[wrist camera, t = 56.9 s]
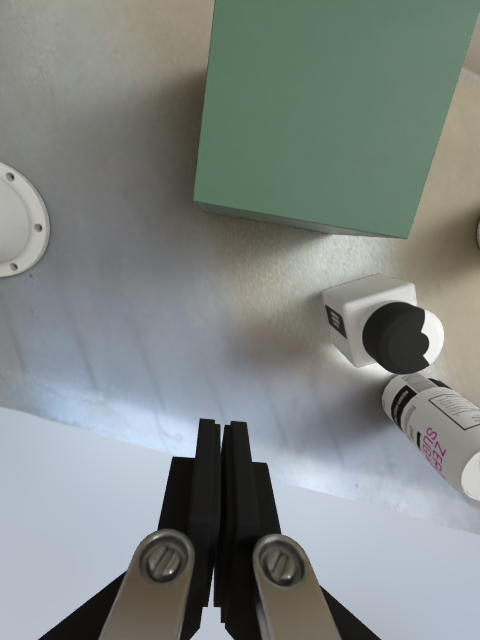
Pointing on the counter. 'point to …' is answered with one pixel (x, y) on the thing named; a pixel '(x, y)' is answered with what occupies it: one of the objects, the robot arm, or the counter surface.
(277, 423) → the counter surface
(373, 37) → the bread box lid
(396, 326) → the container
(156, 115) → the counter surface
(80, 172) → the counter surface
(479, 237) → the milk bottle
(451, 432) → the supplement can
